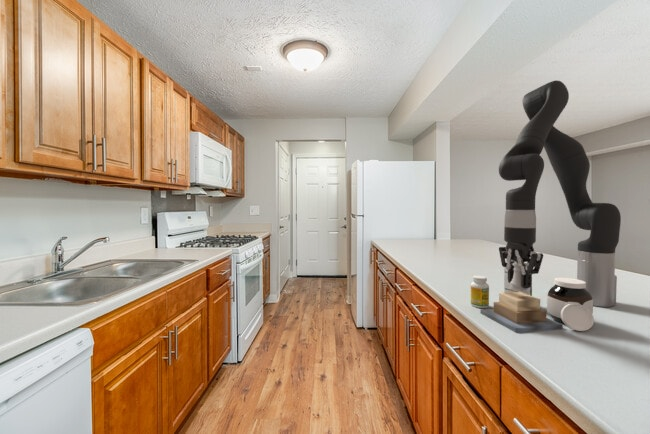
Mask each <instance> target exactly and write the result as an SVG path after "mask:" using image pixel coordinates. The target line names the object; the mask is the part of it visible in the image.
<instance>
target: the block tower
mask: <svg viewBox="0 0 650 434" xmlns="http://www.w3.org/2000/svg"><path fill="white" fill-rule="evenodd" d="M547 313H548V311H547V310H546V309H543V308H541V299H540V298H538V297H536V296H533V295H532V296H530V295H527V294H525V293H522V292H512V293H504V292H499V293H498V301H494V302H493V308H488V309H487V308H484V309H480V314H481V315H483V316H485V317H487V318H489V319H490V320H492V321H494V322H496V323H498V324H500V325H501V326H503V327H505V328H507V329H509V330H510V331H512V332H514V333H524V332H534V331H547V330H548V331H549V330H561V329H563V328H564V327H563V326H564V324H563V323H560V322H558V321H556V320H554V319H553V320H552V319H550V318H548V317H547Z"/></svg>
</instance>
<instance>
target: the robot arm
mask: <svg viewBox="0 0 650 434" xmlns="http://www.w3.org/2000/svg"><path fill="white" fill-rule="evenodd" d="M569 95H570V93H569V90H568V88H567V85H566V84H565V83H564V82H562V81H560V80H551V81H549V82H547V83H545V84H543V85H541V86H540V87H537V88H535V89H533V90H531V91H529V92H528V93H526V94H525V95H524V96H523V97H522V107H523V109H524V113H525V115H526V116H527V118H528V120H529V121H528V122H527V123H526V125H524V127H523V128H522V129H521V131H520V133H519V134H518V137H517V139H516V142H515V144H514V145H513V146H512V147H511V149H510V150H508V151H507V153H506V154H505V155H504V156H503V158H501V160H500V162H499V165H498V174H499V177H500V178H501V179H502V180H505V181H508V182H510V181H511V182H512V181H524V183H523V184H522V186H520V187H517V188H511V189H509V190H507V192H506V194H505V214H504V223H503V224H504V227H503V228H504V230H503V231H504V232H503V233H504V237H503V238H504V239H503V241H504V242H506V246H500V247H498V252H499V257H500V262H501V266H502V267H503V268H504V267H506V269H507V270H508V282H509V283H510V282H511V281H512V279H513V275H514V270H513V269H514V266H513V265H512V264H513V263H514V261H517V262H518V265H519V266H520V267H521V271H522V278H521V287H523V288H530V286H531V276H532V277H533V275H536V274H537V275H538V274H539V273H540V269H541V266H542V264H543V263H542V261H543V258H544V254H543V252H541V253H539V252H537V251H535V248H534V244H535V243H536V241H537V216H536V195H537V191H538V187H539V185H540V184H539V183H540V181H541V177H542V175H543V172H544V168H545V160H544V159H543V157H542V156H541V154H542V152H543V150H545V152H546V156H547V158H548V160H549V163H550V164H551V165H550V166H551V167H552V170H553V172H554V173H555V175H556V177H557V180H558V183H559V184H560V187H561V191H562V192H563V195H564V198H565V201H566V205H567V208H568V210H569V214H570V217H571V220H572V222H573V223H574V225H575V226H576V227H577V228H578V229H581V230H584V231H590V234H589V237H588V238H587V239H584V240H580V241H579V242H578V243H577V262H576V263H577V268H576V270H577V271H576V279H578V280H582V281H584V282H586V288H585V289H586V290H587V291H588V292H589V293H590V294H591V295H592V298H593V307H594V306H595V307H602V308H609V307H614V305H617V285H618V284H617V281H618V280H617V279H618V276H617V275H616V274H615V271H616V266H615V265H616V248H617V246H618V244H619V242H620V241H619V240H620V232H621V219H622V218H621V212H620V210H619V208H618V206H616V205H615V204H613V203H609V202H593V201H592V199H591V197H590V194H589V193H588V189H587V181H588V177H589V173H590V170H591V169H590V167H591V166H590V164H591V163H590V160H589V157H588V156H587V154H586V153H587V152H586V151H585V149H584V146H583V145H582V144H581V142H579V141H578V140H576V139H575V138H573V137H572V136H570V135H569V134H566V133H565V132H563V131H561V130H559V129H558V128H556V127H555V126H554V124H555V123H556V122H557V120H558V119H559V118H560V116H561V114H562V112H563V111H564V109H565V108H566V106H567V104H568V102H569V97H570V96H569ZM505 261H507V263H506V262H505ZM523 262H527V263H523ZM525 266H527V270H526V267H525Z"/></svg>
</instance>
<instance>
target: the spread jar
mask: <svg viewBox="0 0 650 434" xmlns="http://www.w3.org/2000/svg"><path fill="white" fill-rule="evenodd" d="M585 288H586V282H584V281H582V280H578V279H577V278H573V277H572V278H571V277H555V278H554V285H553V286H551V288H550V289H549V290H548V292H547V297H546V298H547V299H546V311H547V314H548V315H549V317H551V319H553V321H555V322H557V323H560V324H562V325H565V326H566V327H568V328H569V329H570V330H574V331H579V332H584V331H588V330H589V329H591V328H592V327H593V325H594V324H595V319H594V314H593V313H594V305H593V298H592V295H591V294H590V293H589V292H588V291H587V290H586V289H585Z"/></svg>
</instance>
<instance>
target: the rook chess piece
mask: <svg viewBox="0 0 650 434" xmlns="http://www.w3.org/2000/svg"><path fill="white" fill-rule="evenodd" d="M523 263H524V262H523ZM513 266H514V269H513V270H514V275H513V279H512V281H511V282H510V284H511V285H510V288H511V289H513V290H518V291H526V290H527V289H528V288H523V287H521V278H522V271H521V267H520V266H519V265H518V262H517V261H514V263H513Z"/></svg>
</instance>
